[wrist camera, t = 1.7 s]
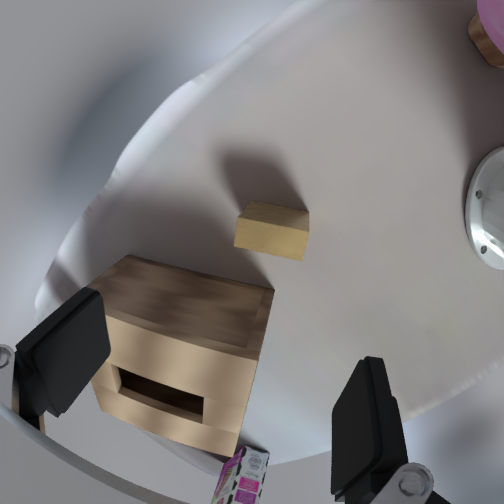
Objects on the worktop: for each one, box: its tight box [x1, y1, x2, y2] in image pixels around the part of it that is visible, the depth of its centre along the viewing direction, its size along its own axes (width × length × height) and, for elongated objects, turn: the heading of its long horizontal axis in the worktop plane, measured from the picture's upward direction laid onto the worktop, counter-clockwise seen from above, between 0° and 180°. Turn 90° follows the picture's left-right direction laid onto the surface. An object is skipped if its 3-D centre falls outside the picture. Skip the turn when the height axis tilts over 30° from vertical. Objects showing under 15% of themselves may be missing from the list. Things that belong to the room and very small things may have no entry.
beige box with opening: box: [86, 255, 275, 458], centre depth 28 cm, size 16×16×10 cm
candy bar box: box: [211, 445, 270, 504], centre depth 35 cm, size 11×5×16 cm, turn 157°
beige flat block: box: [234, 201, 309, 261], centre depth 23 cm, size 5×2×6 cm, turn 81°
